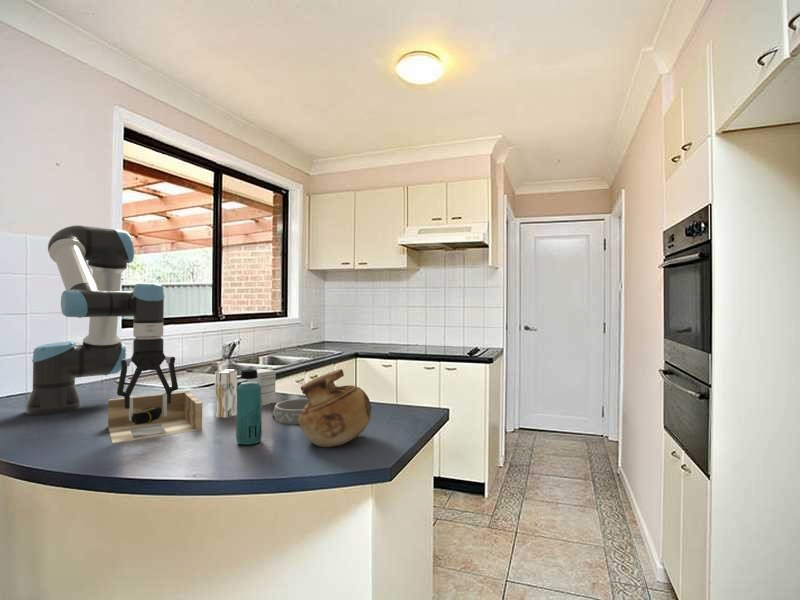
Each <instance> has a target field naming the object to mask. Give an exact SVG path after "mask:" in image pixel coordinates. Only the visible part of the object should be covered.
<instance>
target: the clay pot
mask: <svg viewBox="0 0 800 600" xmlns="http://www.w3.org/2000/svg"><path fill="white" fill-rule="evenodd" d="M344 376H345V375H344V370H343V369H337V370H334V371H332V372H328V373H326V374H324V375H323V374H322V375H321V376H319V377H316V378H314V379H312V380H310V381H308V382H306V383H304V384H302V385H301V386H300V390H301V392H302V394H303V395H305V396H306V398H308V400H309V402H308V403H307V404H306V406H305V407H304V408H303V410H302V412H301V414H300V417H299V424H298V425H299V426H300V429H301V430H302V432H303V434H304V435H305V436H306V438H307V439H308V440H309V441H310V442H311V443H313V444H314V445H315V446H318V447H320V448H321V447H323V448H335V447H338V446H342V445H344V444H346V443H348V442H350V441H351V440H353V439H355V438H356V437H358V436H359V435H360V434H361V433H363V432H364V430H366V428H367V426H368V425H369V423H370V419H371V415H372V414H371V413H372V407H371V406H372V405H371V401H370V398H369V396H368V395H367V393H366V392H365V391H364V390H363V389H362V388H360V387H359V386H356V385H340V386H338V385H336V384H335V382H336V381H337V380H339V379H341V378H342V377H344Z"/></svg>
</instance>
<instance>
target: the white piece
mask: <svg viewBox="0 0 800 600" xmlns="http://www.w3.org/2000/svg"><path fill="white" fill-rule="evenodd" d="M214 373H215V374H214V392H215V393H214V394H215V400H216V405H217V406H216V408H217V409H216V413H215V417H216V418H221V417H223V418H230V417H234V416H237V412H236V408H235V406H236V405H235V404H236V403H235V402H236V399H237V387H238V370H237V369H219V370H216V371H214Z"/></svg>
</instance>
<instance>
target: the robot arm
mask: <svg viewBox="0 0 800 600" xmlns="http://www.w3.org/2000/svg"><path fill="white" fill-rule="evenodd" d="M134 248H135V247H134V242H133V239H132V236H131V235H130V233H129V232H128V231H126V230H123V229H117V228H112V227H111V228H110V227H108V228H107V227H98V226H96V227H95V226H86V225H71V226H67V227H64V228H61V229H60V230H58V231H57V232H55V233H54V234H53V235H52V236H51V238H50V240H48V245H47V251H48V255H49V256H50V257H49V258H51V260H52V261H53V262H54V263H55V264H56V265H57V269H58V271H59V274H60V277H61V280H62V282H63V286H64V288H65V290H64V291H63V292H62V294H61V296H60V308H61V309H60V310H61V313H62V315H63V316H64V317H66V318H79V319H81V318H89V325H88V334H87V336H85V337H83V339H82V344H76V343H77V342H76V341H74V340H73V341H72V340H70V341H69V340H68V341H58V342H52V343H47V344H41V345H39V346H37V347H35V348H34V349H33V354H32V360H31V362H32V390H31V393H30V395H29V398H28V401H27V403H26V406H25V414H26V415H28V414H29V416H49V415H57V414H58V415H59V414H64V413H69V412H72V411H76V410H79V409H81V407H82V404H81V403H82V402H81V401H82V400H81V398H80V396H79V393H78V391H77V388H76V378H87V377H88V378H89V377H99V376H108V375H114V374H115V375H116V374H119V372H120V374H119V380H118V385H117V388H116V389H117V390H116V395H117V396H119V397H123V398H124V406H125V408H126V409H129V420H130V421H132V415H133V397H134V396H133V395H132V392H133V391H134V388H135V386H136V384H137V382H138V380H139V378H140V376H141V374H142V372H147V371H156V374H157V377H158V378H159V380H160V382H161V385H162V386H163V388H164V390H165V392H162V394H163V416H164V417H165V416H167V404H170V403H171V393H173V392H174V391H177V390H178V389H179V385H178V380H177V374H176V368H175V363H176V357H175V356H174V355H171V356H168V355H165V354H164V338H163V337H164V316H165V315H164V314H165V313H164V308H165V307H164V305H165V304H164V301H165V300H164V299H165V293H164V286H163V285H162V284H158V283H135V285H133V286H134V287H133V290H121V282H122V281H121V280H122V273H123V272H124V271H125V270H126V269H127V265H128V264H131V263H133V262H134V257H135V249H134ZM91 269H92V271H91ZM119 317H133V331H132V332H133V333H132V334H133V337H134V339H133V343H132V344H133V346H132V348H133V349H132V352H133V353H132V355H131V357H129V358H126V357H127V353H126V352H127V349H126V344H125V343H124V342H122V339H121V338H120V337H119V336H118V335H117V334H118V321H119ZM164 361H165V362H166V364H168V372H169V377H170V382H171V383H170V384H171V386H170V385H169V383H168V380H167V379H166V377H165V374H164V373H163V371H162V368H161V366H162V363H163V362H164ZM131 363H133V364H134V365H135V370H134V373H133V375H132V377H131V378H130V381H129V383H128V385H127V386H126V387H127V388H126V389H125V382H126V378H127V377H126V376H127V372H128V367H129V366H130V365H131ZM124 389H125V391H124Z"/></svg>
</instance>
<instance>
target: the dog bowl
mask: <svg viewBox="0 0 800 600" xmlns="http://www.w3.org/2000/svg"><path fill="white" fill-rule="evenodd" d="M308 402H309V400H308V398H307V397H306V398H293V399H287V400H282V401H279V402H277V403H276V404H274V408H273V412H272V418H274V421H275V422H276V423H280V424H289V425H293V424H294V425H300V424H299V417H300V414H301V412H302V410H303V408H304V407H305V406H306V404H307V403H308Z"/></svg>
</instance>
